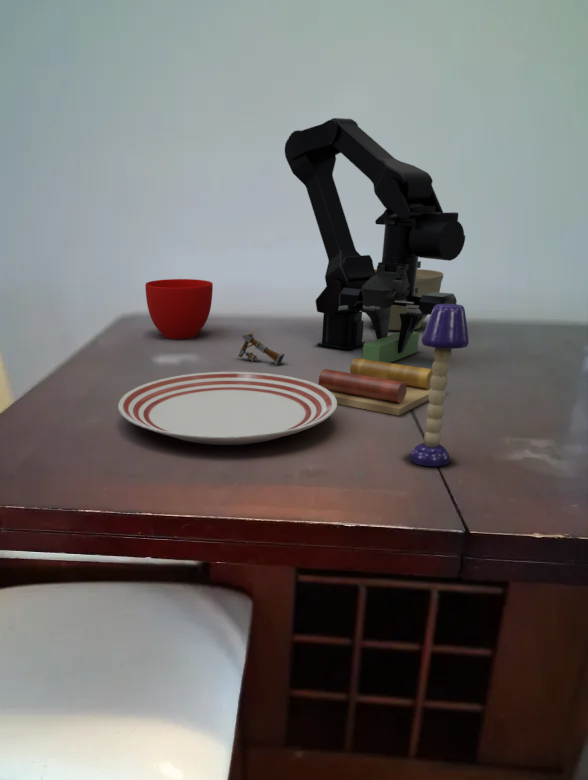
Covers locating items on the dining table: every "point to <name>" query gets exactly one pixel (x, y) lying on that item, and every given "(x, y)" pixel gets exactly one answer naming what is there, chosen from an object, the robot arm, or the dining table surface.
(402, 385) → the rod rack
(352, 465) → the dining table surface
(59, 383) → the dining table surface
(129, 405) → the dinner plate
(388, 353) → the bar
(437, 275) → the planter bowl
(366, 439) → the dining table surface
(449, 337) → the toy lamp
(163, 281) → the ceramic cup
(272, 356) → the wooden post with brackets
